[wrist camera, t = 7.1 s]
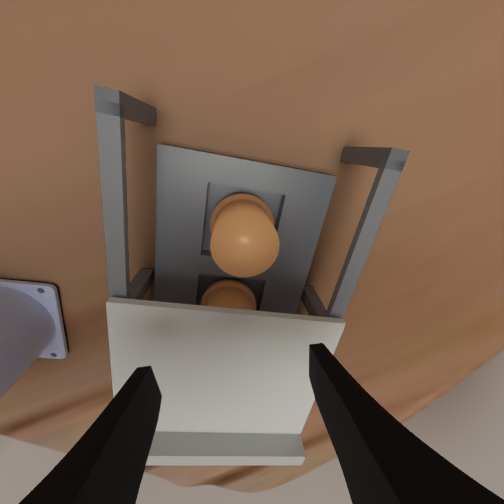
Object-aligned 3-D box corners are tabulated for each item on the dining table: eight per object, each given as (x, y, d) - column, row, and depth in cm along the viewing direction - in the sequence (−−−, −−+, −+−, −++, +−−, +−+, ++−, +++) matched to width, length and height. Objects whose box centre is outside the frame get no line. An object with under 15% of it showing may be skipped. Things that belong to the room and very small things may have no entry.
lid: (119, 433, 19) (106, 465, 17) (109, 297, 14) (90, 321, 12) (295, 436, 21) (301, 465, 19) (342, 318, 16) (357, 342, 14)
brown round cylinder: (208, 245, 19) (201, 277, 14) (214, 186, 17) (208, 201, 13) (265, 252, 20) (275, 285, 15) (276, 196, 18) (292, 214, 13)
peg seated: (199, 316, 22) (191, 362, 17) (204, 272, 20) (197, 310, 15) (249, 320, 22) (254, 366, 18) (259, 278, 21) (267, 316, 16)
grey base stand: (142, 376, 25) (118, 436, 20) (139, 104, 15) (93, 85, 10) (282, 383, 27) (294, 439, 22) (357, 149, 17) (409, 151, 12)
